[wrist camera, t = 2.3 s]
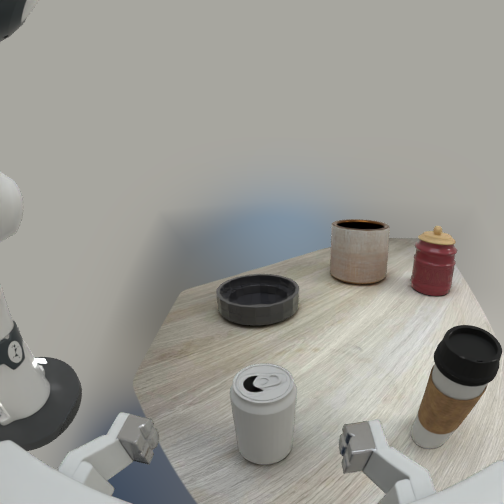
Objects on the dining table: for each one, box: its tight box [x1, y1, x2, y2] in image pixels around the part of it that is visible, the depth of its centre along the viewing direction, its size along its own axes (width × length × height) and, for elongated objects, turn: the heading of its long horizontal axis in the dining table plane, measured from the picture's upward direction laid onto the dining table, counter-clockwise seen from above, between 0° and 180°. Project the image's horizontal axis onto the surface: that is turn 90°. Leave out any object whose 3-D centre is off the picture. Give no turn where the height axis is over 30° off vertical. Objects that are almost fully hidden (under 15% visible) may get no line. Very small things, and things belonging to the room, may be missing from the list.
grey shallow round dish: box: [217, 274, 299, 326], centre depth 62 cm, size 19×19×5 cm
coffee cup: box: [411, 325, 502, 449], centre depth 21 cm, size 8×8×15 cm
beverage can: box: [230, 363, 297, 465], centre depth 25 cm, size 6×6×12 cm
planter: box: [330, 219, 390, 284], centre depth 76 cm, size 18×18×16 cm
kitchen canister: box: [411, 226, 457, 296], centre depth 62 cm, size 13×13×18 cm
